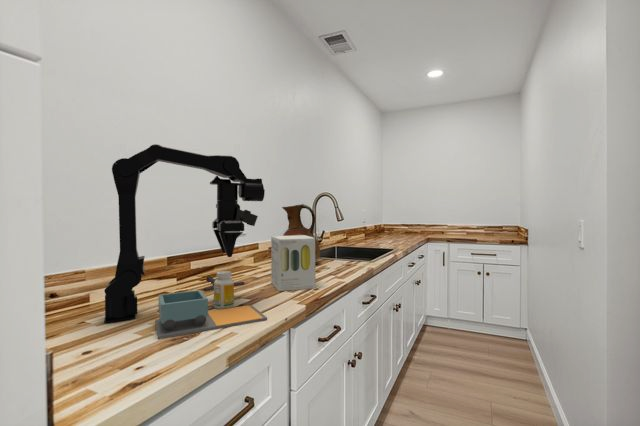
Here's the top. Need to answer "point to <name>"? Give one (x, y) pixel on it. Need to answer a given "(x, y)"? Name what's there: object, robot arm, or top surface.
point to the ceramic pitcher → (300, 225)
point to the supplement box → (293, 262)
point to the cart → (182, 308)
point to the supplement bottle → (223, 290)
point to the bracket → (214, 281)
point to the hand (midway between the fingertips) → (227, 254)
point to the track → (213, 321)
